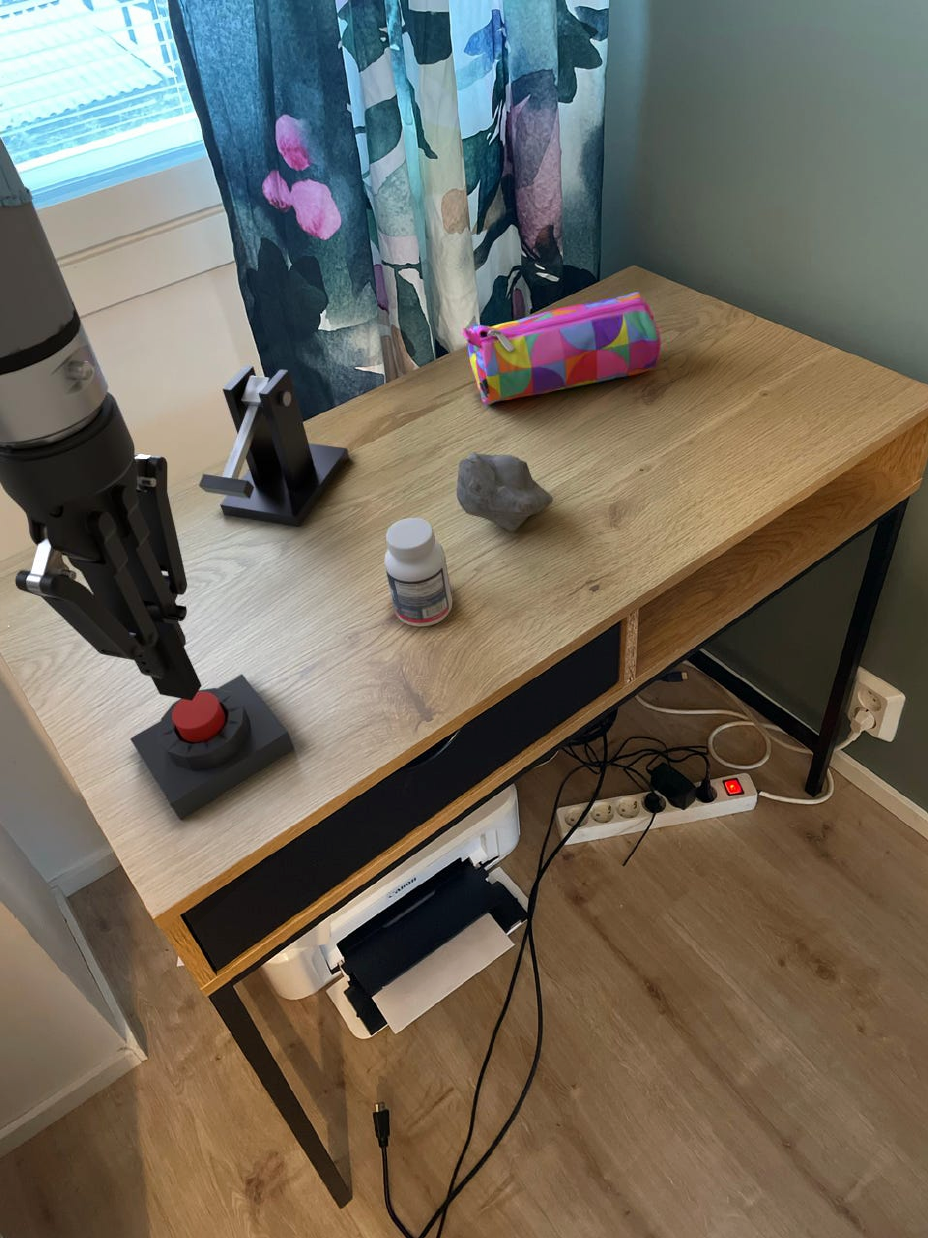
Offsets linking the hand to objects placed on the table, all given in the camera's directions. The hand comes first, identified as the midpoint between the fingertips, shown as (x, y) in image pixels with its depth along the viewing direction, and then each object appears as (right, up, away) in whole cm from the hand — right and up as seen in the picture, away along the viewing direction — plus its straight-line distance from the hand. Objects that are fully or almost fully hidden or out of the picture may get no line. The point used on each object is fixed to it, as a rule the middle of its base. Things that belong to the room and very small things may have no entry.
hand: (180, 689), depth 66 cm
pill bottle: (+17, +6, +15) cm, 24 cm away
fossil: (+25, +15, +22) cm, 36 cm away
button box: (+1, -5, +6) cm, 8 cm away
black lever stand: (+2, +19, +30) cm, 36 cm away
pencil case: (+32, +32, +38) cm, 60 cm away
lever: (0, +22, +22) cm, 31 cm away
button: (+1, -3, +3) cm, 4 cm away
